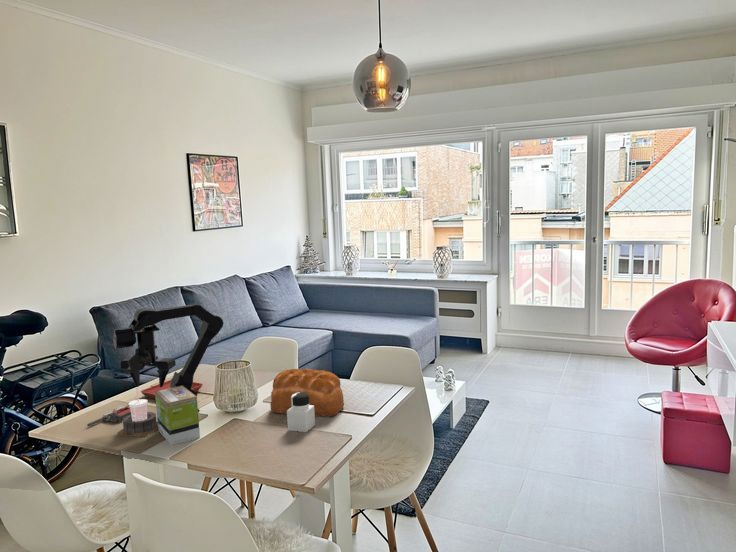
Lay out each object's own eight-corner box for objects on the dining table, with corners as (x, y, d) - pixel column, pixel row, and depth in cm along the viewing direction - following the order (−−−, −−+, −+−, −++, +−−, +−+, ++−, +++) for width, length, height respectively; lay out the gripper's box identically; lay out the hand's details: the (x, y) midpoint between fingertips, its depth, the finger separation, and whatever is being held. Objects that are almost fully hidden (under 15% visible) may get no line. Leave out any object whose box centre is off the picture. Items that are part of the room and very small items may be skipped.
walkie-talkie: (128, 409, 219) (85, 428, 201) (127, 398, 219) (84, 416, 200) (146, 412, 216) (103, 431, 197) (145, 400, 215) (102, 419, 197)
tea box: (157, 432, 195) (154, 390, 193) (186, 425, 200) (183, 384, 199) (170, 446, 182) (166, 401, 181) (201, 438, 188) (198, 395, 186)
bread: (333, 419, 201) (332, 377, 199) (266, 413, 209) (264, 372, 207) (346, 406, 214) (345, 366, 213) (283, 401, 222) (281, 362, 220)
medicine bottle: (315, 425, 196) (313, 391, 195) (306, 432, 190) (304, 398, 188) (296, 423, 199) (295, 389, 197) (287, 430, 192) (285, 396, 190)
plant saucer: (170, 404, 223) (169, 396, 223) (139, 398, 232) (139, 390, 232) (204, 391, 239) (204, 383, 238) (174, 385, 248) (174, 378, 247)
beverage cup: (153, 423, 200) (149, 385, 198) (143, 430, 194) (140, 391, 192) (136, 423, 200) (133, 385, 199) (127, 430, 194) (123, 390, 193)
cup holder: (162, 424, 201) (161, 412, 201) (145, 436, 191) (144, 423, 190) (135, 423, 203) (134, 411, 203) (117, 435, 193) (116, 422, 192)
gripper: (108, 349, 195) (112, 393, 197) (157, 350, 191) (161, 395, 193) (127, 341, 206) (131, 383, 208) (174, 342, 202) (177, 384, 204)
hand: (149, 386), depth 203 cm, fingers open, 9 cm apart
